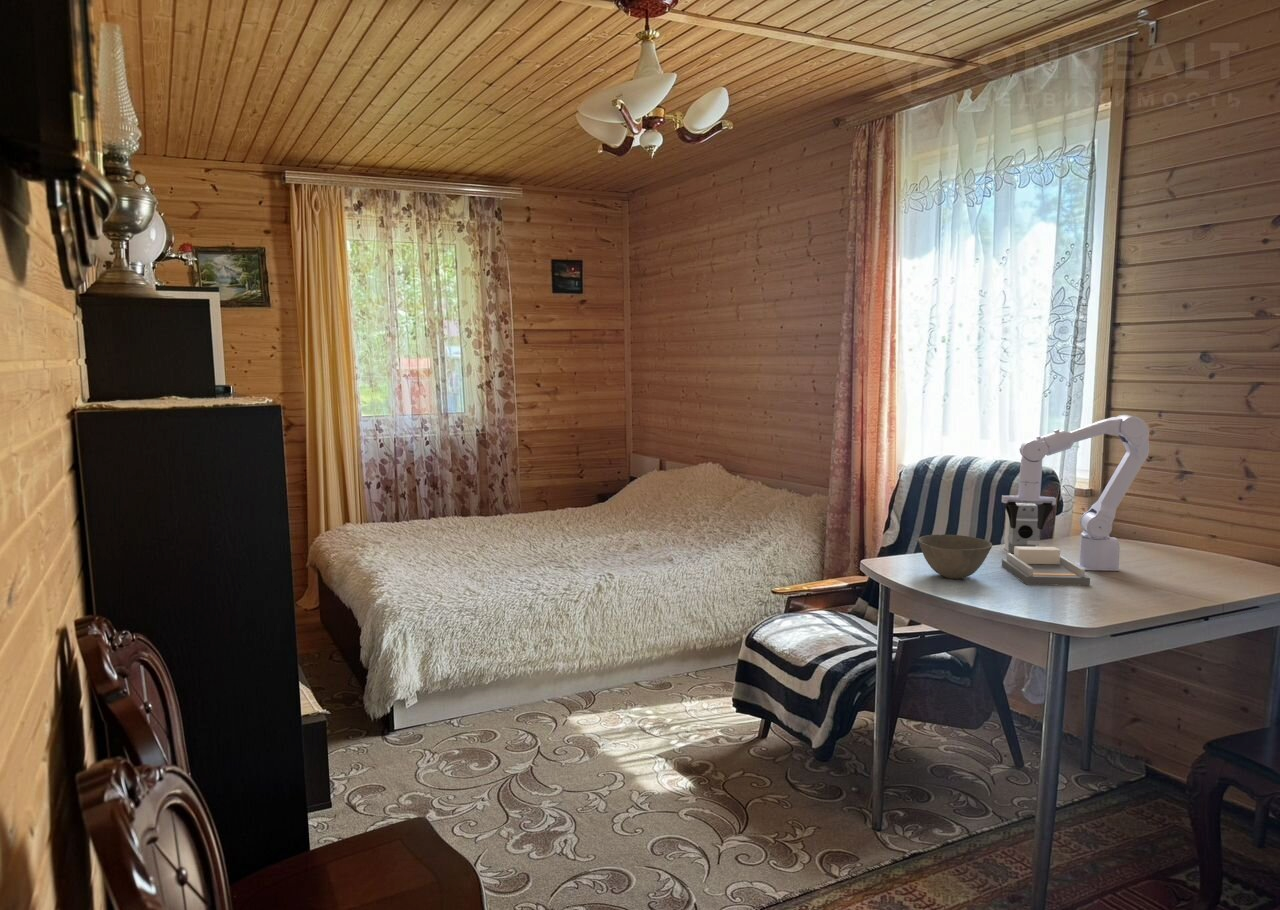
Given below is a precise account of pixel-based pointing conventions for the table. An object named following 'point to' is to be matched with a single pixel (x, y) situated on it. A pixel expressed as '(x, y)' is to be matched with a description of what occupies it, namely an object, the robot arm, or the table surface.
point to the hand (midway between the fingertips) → (1026, 528)
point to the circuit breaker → (1022, 528)
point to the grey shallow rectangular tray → (1046, 572)
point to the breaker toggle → (1037, 555)
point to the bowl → (954, 554)
